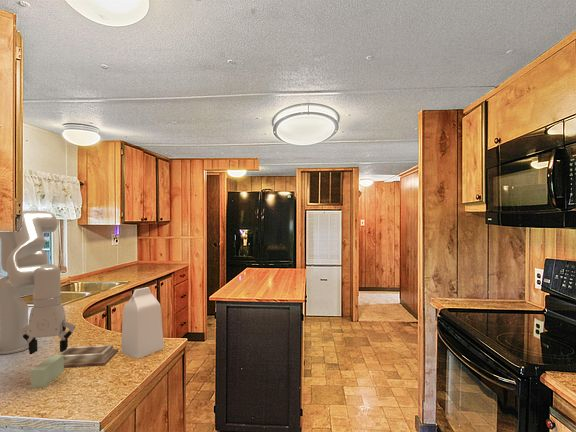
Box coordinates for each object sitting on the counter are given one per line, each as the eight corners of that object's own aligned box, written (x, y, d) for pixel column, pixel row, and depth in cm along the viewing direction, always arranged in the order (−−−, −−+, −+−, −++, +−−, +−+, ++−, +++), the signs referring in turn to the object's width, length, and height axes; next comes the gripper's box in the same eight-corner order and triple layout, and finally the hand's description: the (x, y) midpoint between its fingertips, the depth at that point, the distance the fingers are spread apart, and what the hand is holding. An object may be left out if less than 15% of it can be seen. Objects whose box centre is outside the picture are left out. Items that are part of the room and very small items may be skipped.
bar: (31, 388, 109) (30, 370, 109) (51, 371, 121) (51, 355, 121) (44, 387, 109) (44, 369, 109) (63, 371, 121) (63, 354, 121)
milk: (138, 358, 131) (137, 293, 131) (121, 352, 137) (120, 289, 137) (163, 348, 141) (163, 287, 141) (147, 343, 147) (146, 284, 147)
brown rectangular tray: (47, 368, 123) (47, 359, 123) (66, 354, 136) (66, 345, 136) (104, 365, 125) (104, 356, 125) (118, 351, 138) (118, 343, 138)
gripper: (12, 306, 110) (13, 358, 110) (68, 303, 112) (69, 354, 112) (27, 301, 118) (28, 349, 117) (79, 298, 120) (80, 346, 119)
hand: (48, 351), depth 115 cm, fingers open, 9 cm apart
